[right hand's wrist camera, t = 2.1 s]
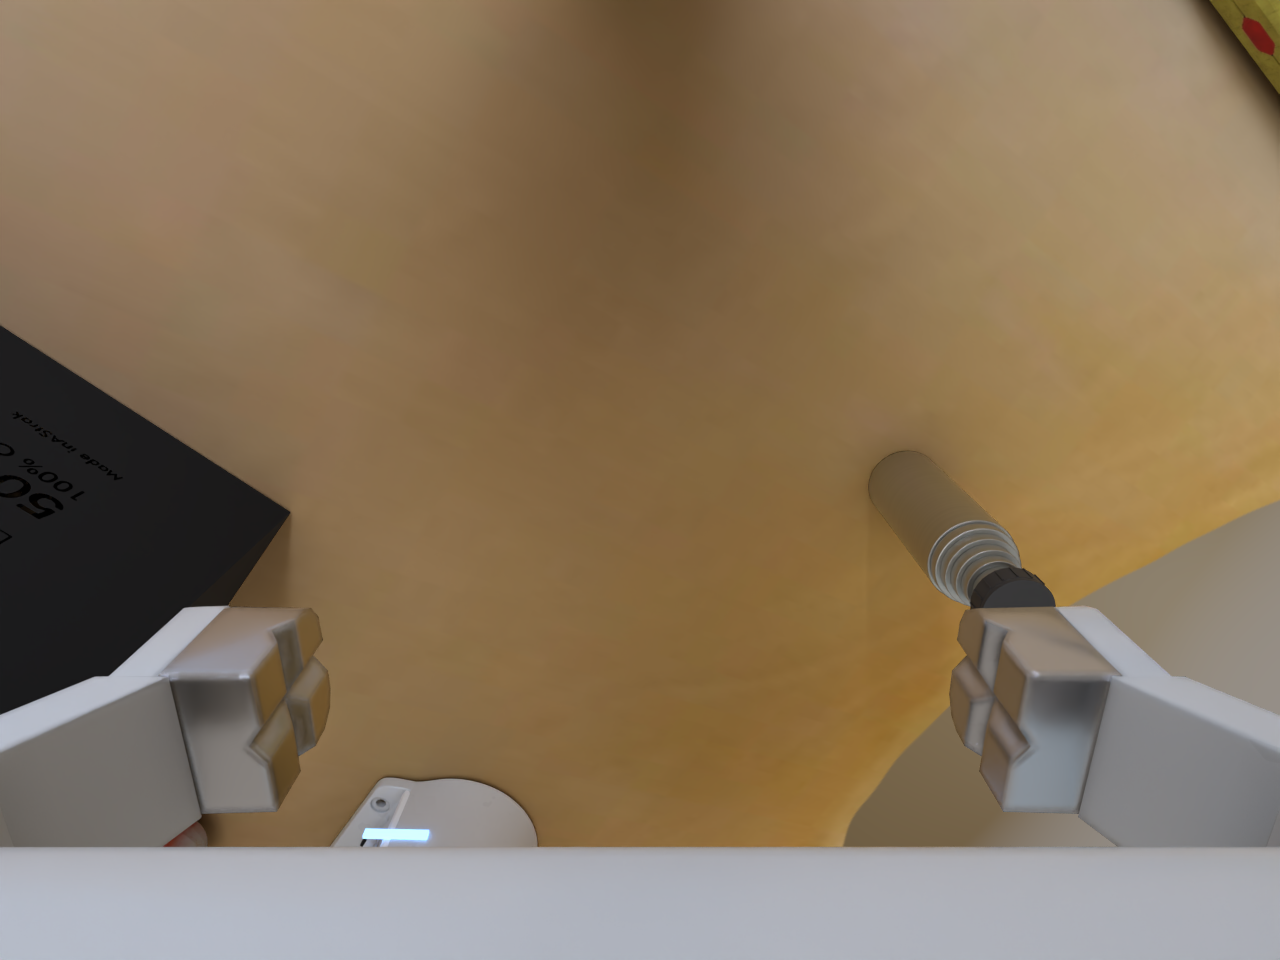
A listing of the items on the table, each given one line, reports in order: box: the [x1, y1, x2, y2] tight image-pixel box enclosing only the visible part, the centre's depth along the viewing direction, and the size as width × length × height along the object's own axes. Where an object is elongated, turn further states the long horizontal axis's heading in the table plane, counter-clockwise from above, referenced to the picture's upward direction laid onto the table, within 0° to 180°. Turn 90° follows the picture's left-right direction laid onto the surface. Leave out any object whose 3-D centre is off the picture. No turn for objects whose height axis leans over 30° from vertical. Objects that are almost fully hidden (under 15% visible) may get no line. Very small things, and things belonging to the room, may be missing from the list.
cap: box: [970, 567, 1055, 609], centre depth 43 cm, size 4×4×2 cm
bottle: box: [869, 451, 1022, 607], centre depth 52 cm, size 5×5×19 cm
